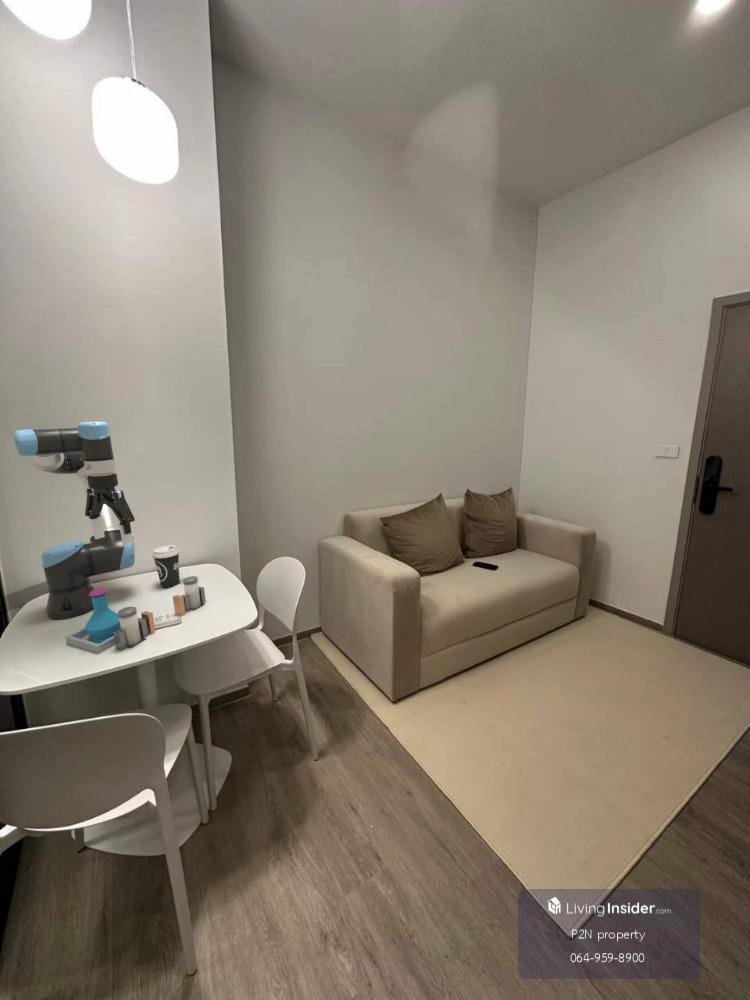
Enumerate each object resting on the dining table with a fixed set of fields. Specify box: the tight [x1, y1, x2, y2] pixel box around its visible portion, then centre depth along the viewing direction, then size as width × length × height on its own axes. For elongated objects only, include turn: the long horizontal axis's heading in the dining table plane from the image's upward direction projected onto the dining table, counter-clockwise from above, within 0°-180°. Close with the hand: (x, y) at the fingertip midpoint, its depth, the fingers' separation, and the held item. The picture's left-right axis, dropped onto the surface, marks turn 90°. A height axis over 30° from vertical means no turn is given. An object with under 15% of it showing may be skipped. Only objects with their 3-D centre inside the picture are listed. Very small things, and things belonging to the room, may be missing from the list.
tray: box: [65, 627, 115, 655], centre depth 120 cm, size 14×14×3 cm
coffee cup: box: [151, 544, 181, 589], centre depth 155 cm, size 10×10×15 cm
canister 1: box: [117, 606, 141, 646], centre depth 115 cm, size 5×5×10 cm
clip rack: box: [113, 586, 207, 651], centre depth 126 cm, size 6×31×7 cm, turn 158°
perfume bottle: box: [84, 587, 121, 643], centre depth 118 cm, size 9×9×15 cm
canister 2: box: [182, 575, 201, 609], centre depth 136 cm, size 5×5×10 cm
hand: (113, 540), depth 125 cm, fingers open, 13 cm apart
